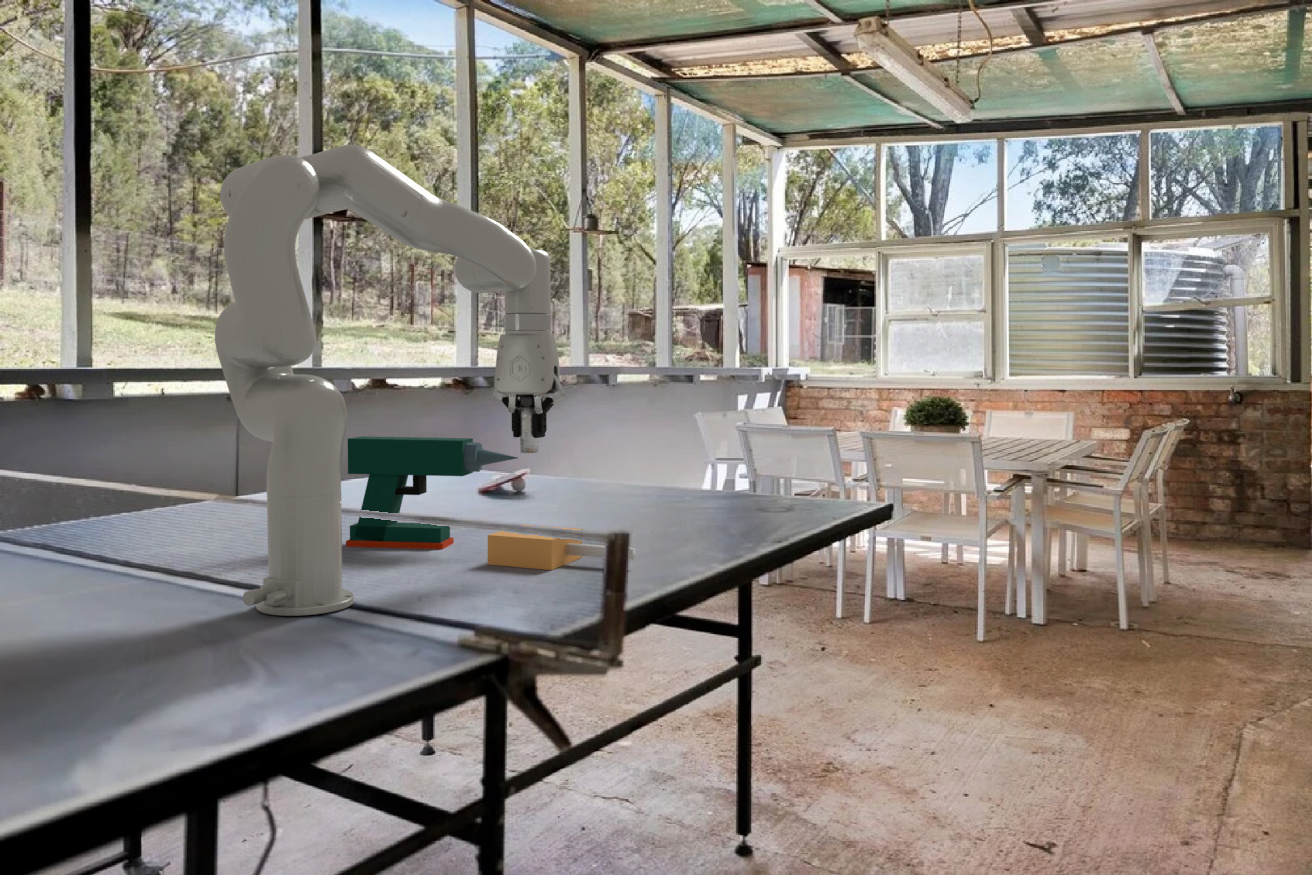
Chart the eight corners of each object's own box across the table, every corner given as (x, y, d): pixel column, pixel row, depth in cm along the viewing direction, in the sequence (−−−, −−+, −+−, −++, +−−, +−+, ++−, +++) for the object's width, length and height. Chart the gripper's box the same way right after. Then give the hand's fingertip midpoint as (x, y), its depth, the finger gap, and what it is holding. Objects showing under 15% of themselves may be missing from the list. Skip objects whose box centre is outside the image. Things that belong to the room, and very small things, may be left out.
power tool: (524, 544, 181) (524, 438, 180) (515, 551, 174) (515, 441, 173) (361, 540, 184) (360, 436, 183) (345, 546, 177) (344, 438, 176)
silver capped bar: (533, 453, 158) (532, 392, 157) (517, 452, 159) (516, 392, 158) (541, 451, 160) (541, 391, 160) (525, 451, 161) (525, 391, 161)
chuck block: (619, 576, 153) (619, 545, 153) (487, 564, 162) (487, 534, 161) (646, 562, 164) (646, 533, 164) (521, 552, 173) (521, 524, 172)
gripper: (472, 325, 157) (474, 437, 159) (562, 324, 151) (563, 440, 153) (496, 327, 164) (498, 434, 166) (582, 325, 158) (583, 436, 160)
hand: (529, 436), depth 159 cm, fingers closed on silver capped bar, 3 cm apart
